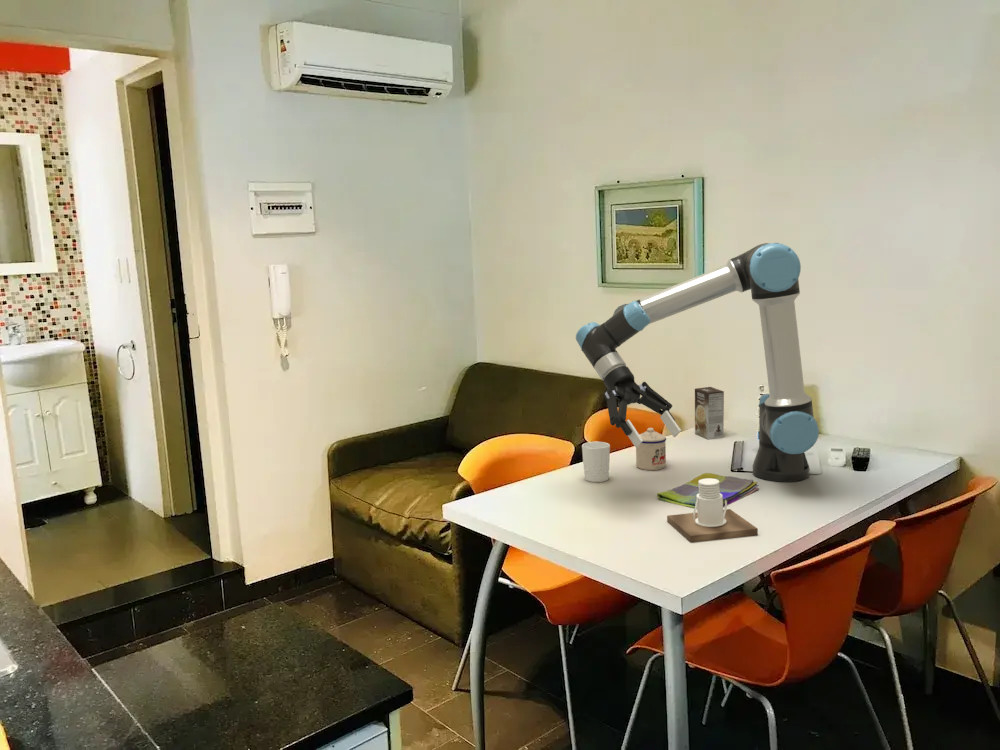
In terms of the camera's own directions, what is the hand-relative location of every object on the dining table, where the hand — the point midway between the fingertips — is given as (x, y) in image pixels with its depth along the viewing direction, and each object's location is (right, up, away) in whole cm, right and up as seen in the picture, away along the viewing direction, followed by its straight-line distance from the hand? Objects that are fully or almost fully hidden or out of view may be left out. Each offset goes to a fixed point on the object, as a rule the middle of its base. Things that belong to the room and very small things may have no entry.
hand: (658, 439), depth 199 cm
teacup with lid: (+6, -11, +40) cm, 42 cm away
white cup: (-12, -14, +29) cm, 34 cm away
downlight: (+9, -18, -14) cm, 25 cm away
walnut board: (+9, -20, -13) cm, 26 cm away
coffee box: (+32, -5, +72) cm, 79 cm away
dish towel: (+15, -16, +11) cm, 25 cm away
